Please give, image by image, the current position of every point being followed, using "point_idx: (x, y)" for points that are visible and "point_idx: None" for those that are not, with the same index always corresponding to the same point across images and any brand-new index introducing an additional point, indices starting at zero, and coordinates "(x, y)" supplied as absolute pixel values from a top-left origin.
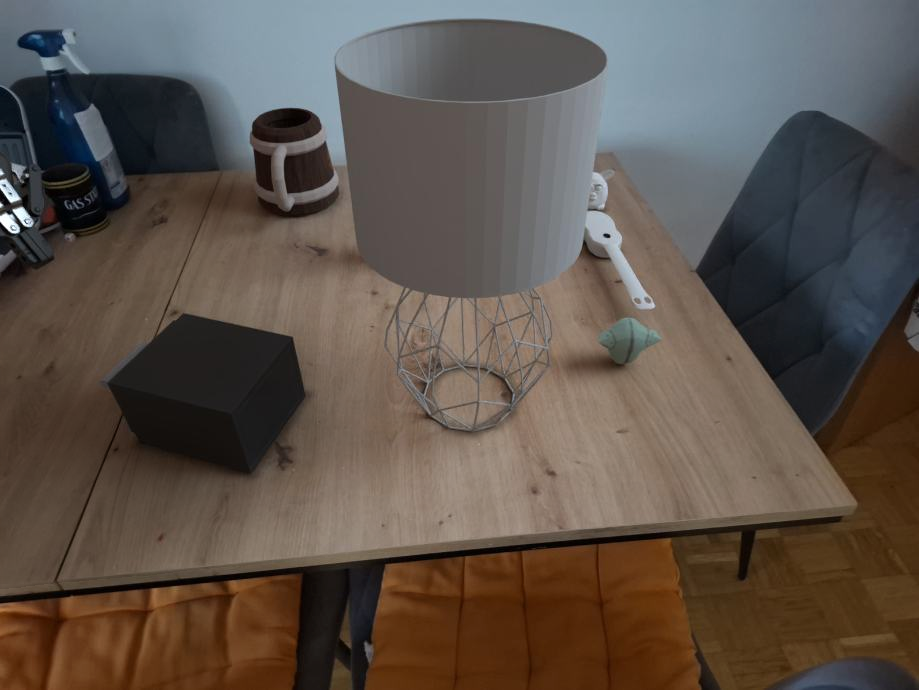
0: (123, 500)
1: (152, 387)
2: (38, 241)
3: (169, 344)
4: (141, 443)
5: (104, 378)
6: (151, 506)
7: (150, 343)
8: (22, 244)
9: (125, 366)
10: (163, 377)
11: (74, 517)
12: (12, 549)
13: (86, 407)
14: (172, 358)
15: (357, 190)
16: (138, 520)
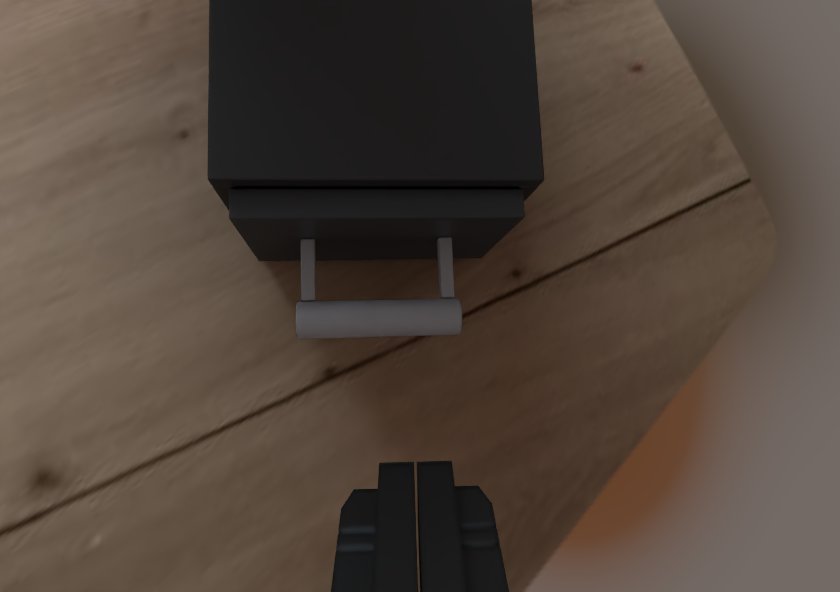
0: (604, 176)
1: (516, 65)
2: (394, 536)
3: (356, 127)
4: None
5: (455, 315)
6: (595, 121)
7: (350, 213)
8: (477, 575)
9: (456, 213)
10: (476, 60)
11: (664, 234)
12: (750, 286)
13: (443, 428)
14: (405, 82)
15: None
16: (626, 124)
